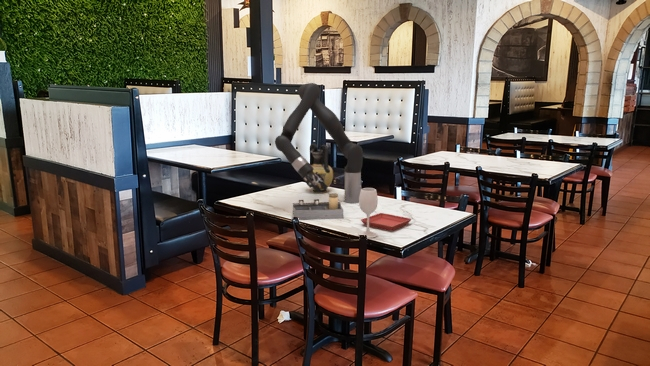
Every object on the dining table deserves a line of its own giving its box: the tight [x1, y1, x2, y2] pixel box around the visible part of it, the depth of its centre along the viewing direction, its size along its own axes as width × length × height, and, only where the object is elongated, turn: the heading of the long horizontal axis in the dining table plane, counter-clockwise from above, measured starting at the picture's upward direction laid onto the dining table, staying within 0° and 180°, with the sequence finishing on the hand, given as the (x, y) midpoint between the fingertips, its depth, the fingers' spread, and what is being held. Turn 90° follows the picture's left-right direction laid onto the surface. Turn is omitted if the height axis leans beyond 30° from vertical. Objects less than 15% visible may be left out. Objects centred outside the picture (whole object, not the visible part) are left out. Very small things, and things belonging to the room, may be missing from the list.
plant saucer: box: [360, 212, 412, 232], centre depth 240 cm, size 18×18×3 cm
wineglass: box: [357, 187, 378, 239], centre depth 222 cm, size 9×9×21 cm
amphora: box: [309, 143, 334, 194], centre depth 310 cm, size 18×17×30 cm
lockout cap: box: [328, 192, 339, 209], centre depth 255 cm, size 4×4×10 cm
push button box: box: [292, 198, 345, 221], centre depth 256 cm, size 25×13×7 cm, turn 97°
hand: (323, 190), depth 256 cm, fingers open, 8 cm apart
